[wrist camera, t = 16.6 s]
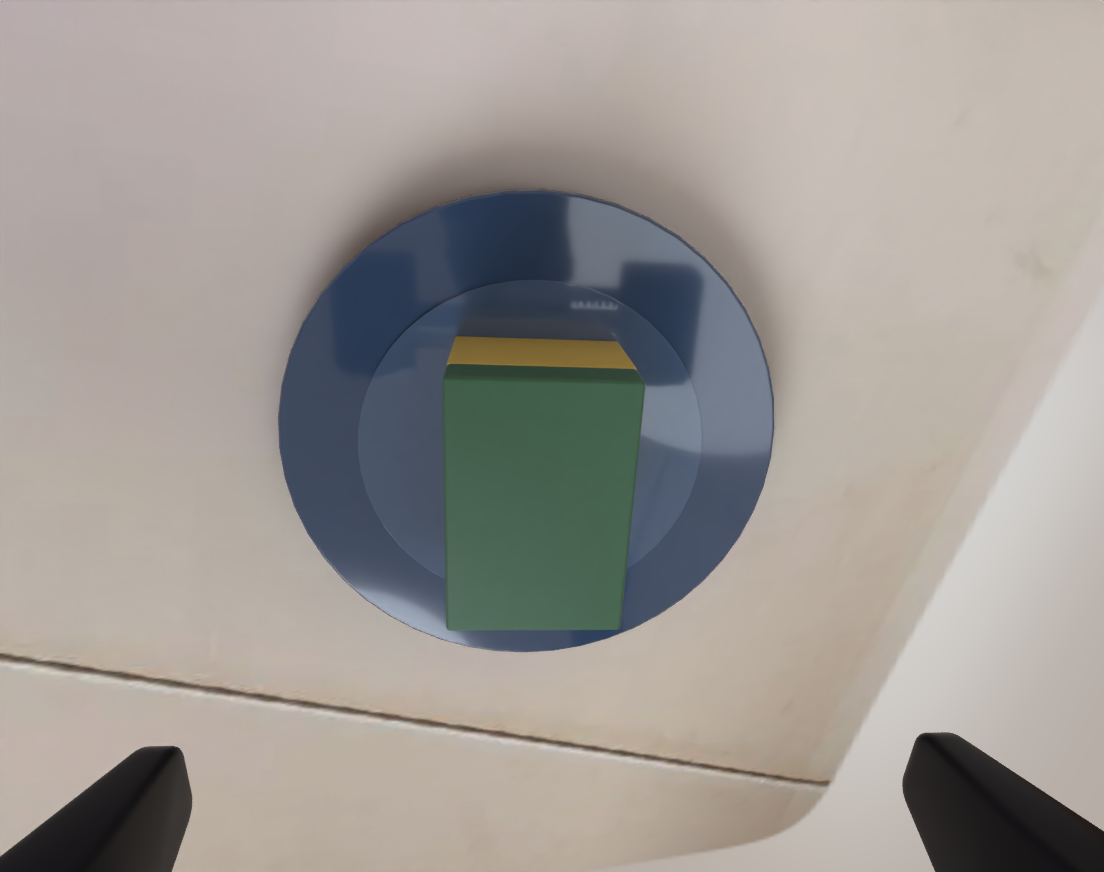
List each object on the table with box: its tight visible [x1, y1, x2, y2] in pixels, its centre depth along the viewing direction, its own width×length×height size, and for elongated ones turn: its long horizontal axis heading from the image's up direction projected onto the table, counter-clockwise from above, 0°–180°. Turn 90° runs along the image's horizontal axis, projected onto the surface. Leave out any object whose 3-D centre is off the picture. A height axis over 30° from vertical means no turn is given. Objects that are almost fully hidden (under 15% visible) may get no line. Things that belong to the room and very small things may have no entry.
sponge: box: [443, 336, 646, 631], centre depth 15 cm, size 6×4×4 cm, turn 177°
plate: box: [278, 189, 774, 652], centre depth 18 cm, size 13×13×1 cm
